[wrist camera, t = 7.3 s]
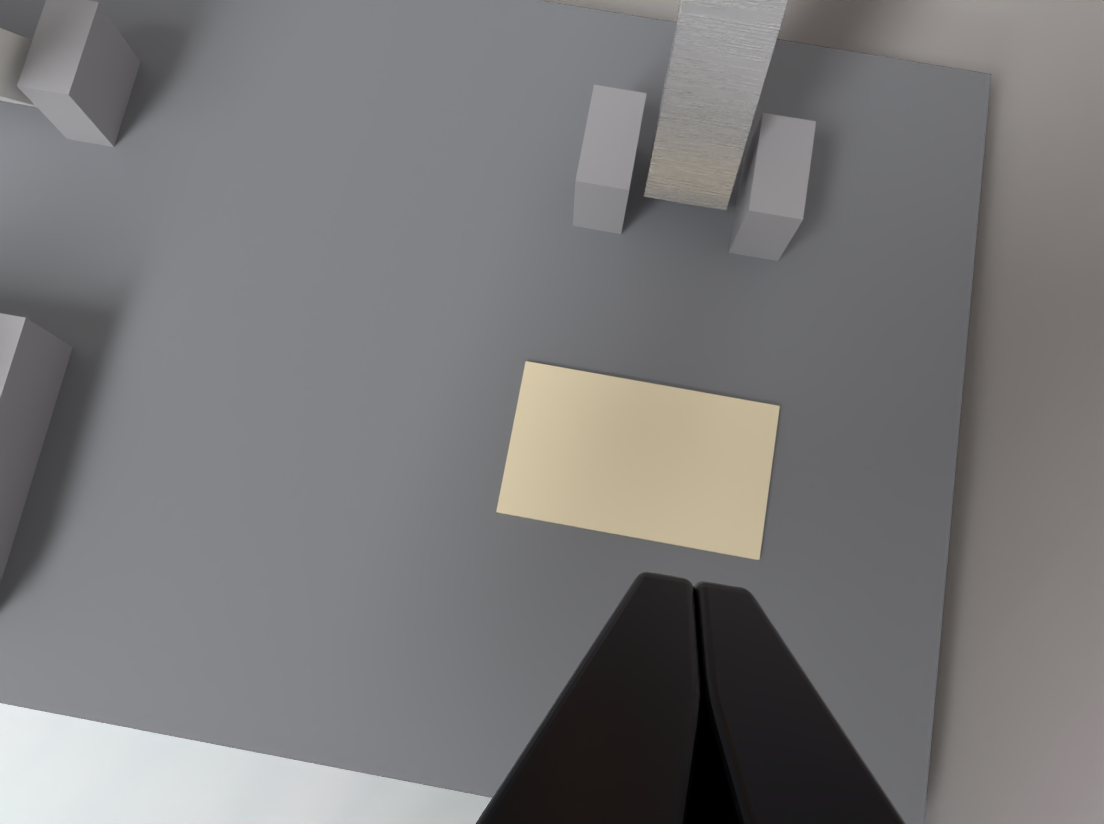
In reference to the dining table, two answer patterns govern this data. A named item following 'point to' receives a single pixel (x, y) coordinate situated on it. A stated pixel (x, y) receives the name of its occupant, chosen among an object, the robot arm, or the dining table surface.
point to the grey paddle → (12, 66)
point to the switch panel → (461, 372)
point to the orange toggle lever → (710, 98)
